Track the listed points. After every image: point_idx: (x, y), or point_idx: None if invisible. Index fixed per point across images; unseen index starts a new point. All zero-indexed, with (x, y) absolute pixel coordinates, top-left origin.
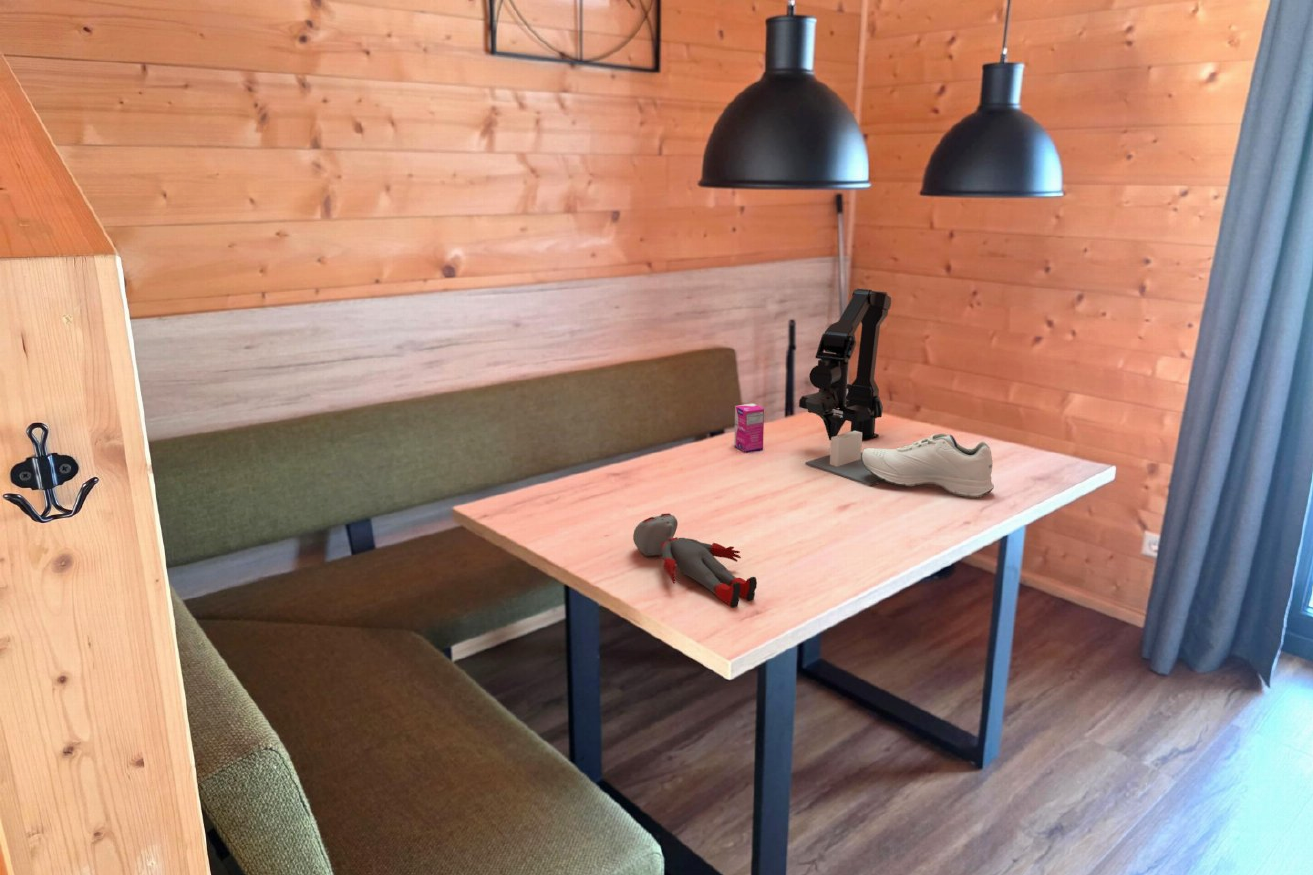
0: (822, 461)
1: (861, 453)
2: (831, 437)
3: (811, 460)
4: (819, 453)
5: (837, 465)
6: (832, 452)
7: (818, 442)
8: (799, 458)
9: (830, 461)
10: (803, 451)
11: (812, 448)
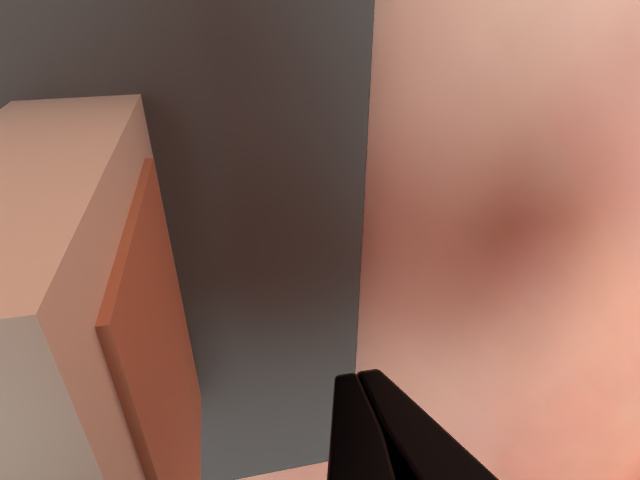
0: (264, 98)
1: (226, 469)
2: (31, 313)
3: (368, 15)
4: (463, 268)
5: (7, 108)
6: (68, 153)
7: (578, 387)
8: (530, 21)
9: (123, 103)
10: (585, 200)
11: (559, 296)
